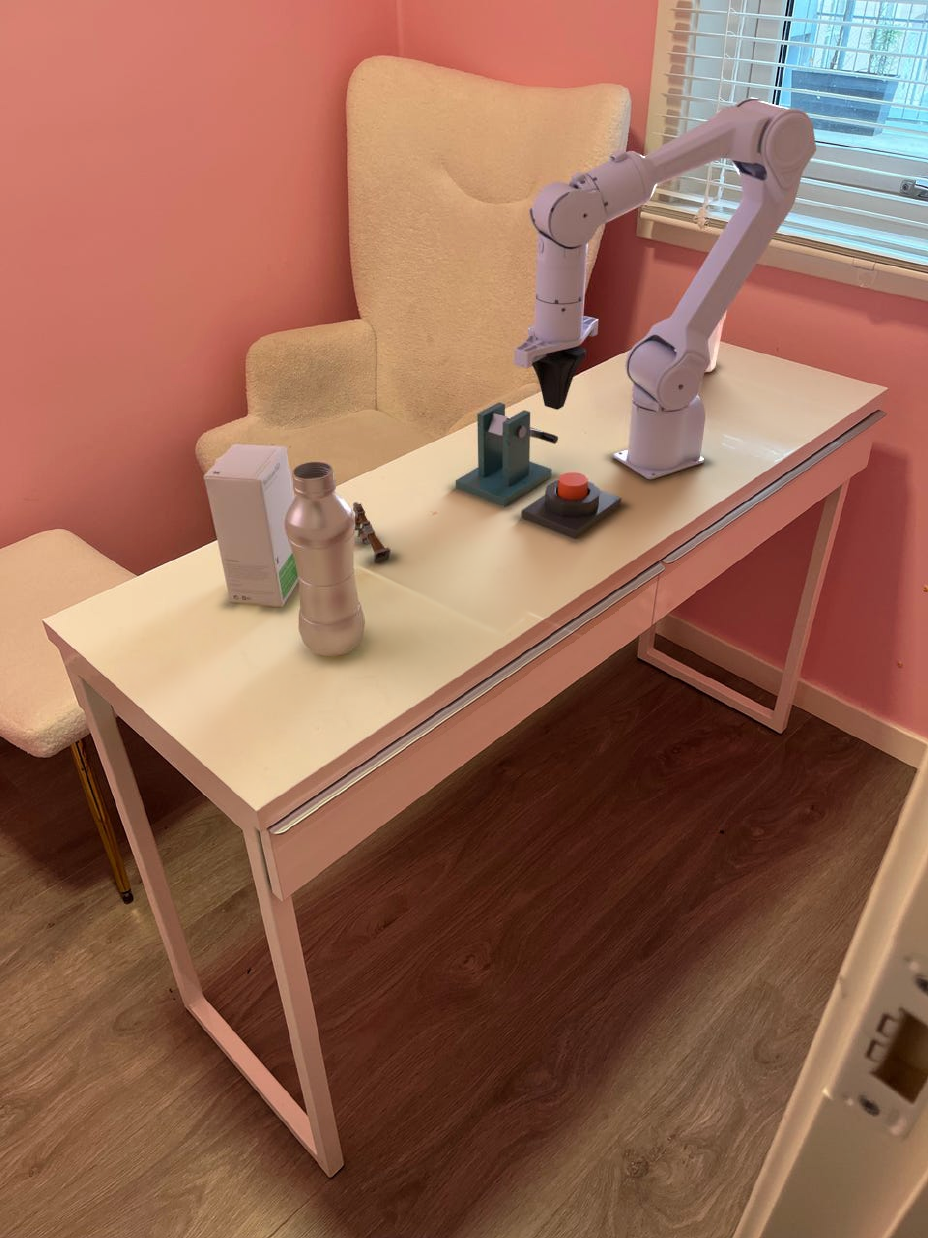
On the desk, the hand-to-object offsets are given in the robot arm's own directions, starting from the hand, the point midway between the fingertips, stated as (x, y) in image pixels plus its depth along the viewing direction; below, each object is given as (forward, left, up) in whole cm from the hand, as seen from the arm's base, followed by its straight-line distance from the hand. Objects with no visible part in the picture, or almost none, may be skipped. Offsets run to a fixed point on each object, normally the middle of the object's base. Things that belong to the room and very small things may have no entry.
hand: (554, 406), depth 121 cm
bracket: (+6, -3, -10) cm, 12 cm away
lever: (+3, -4, -5) cm, 7 cm away
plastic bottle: (+39, +17, -11) cm, 44 cm away
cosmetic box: (+41, +3, -11) cm, 42 cm away
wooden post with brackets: (+28, +2, -11) cm, 30 cm away
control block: (+3, +8, -10) cm, 13 cm away
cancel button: (+3, +8, -8) cm, 12 cm away
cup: (-41, -19, -11) cm, 47 cm away
